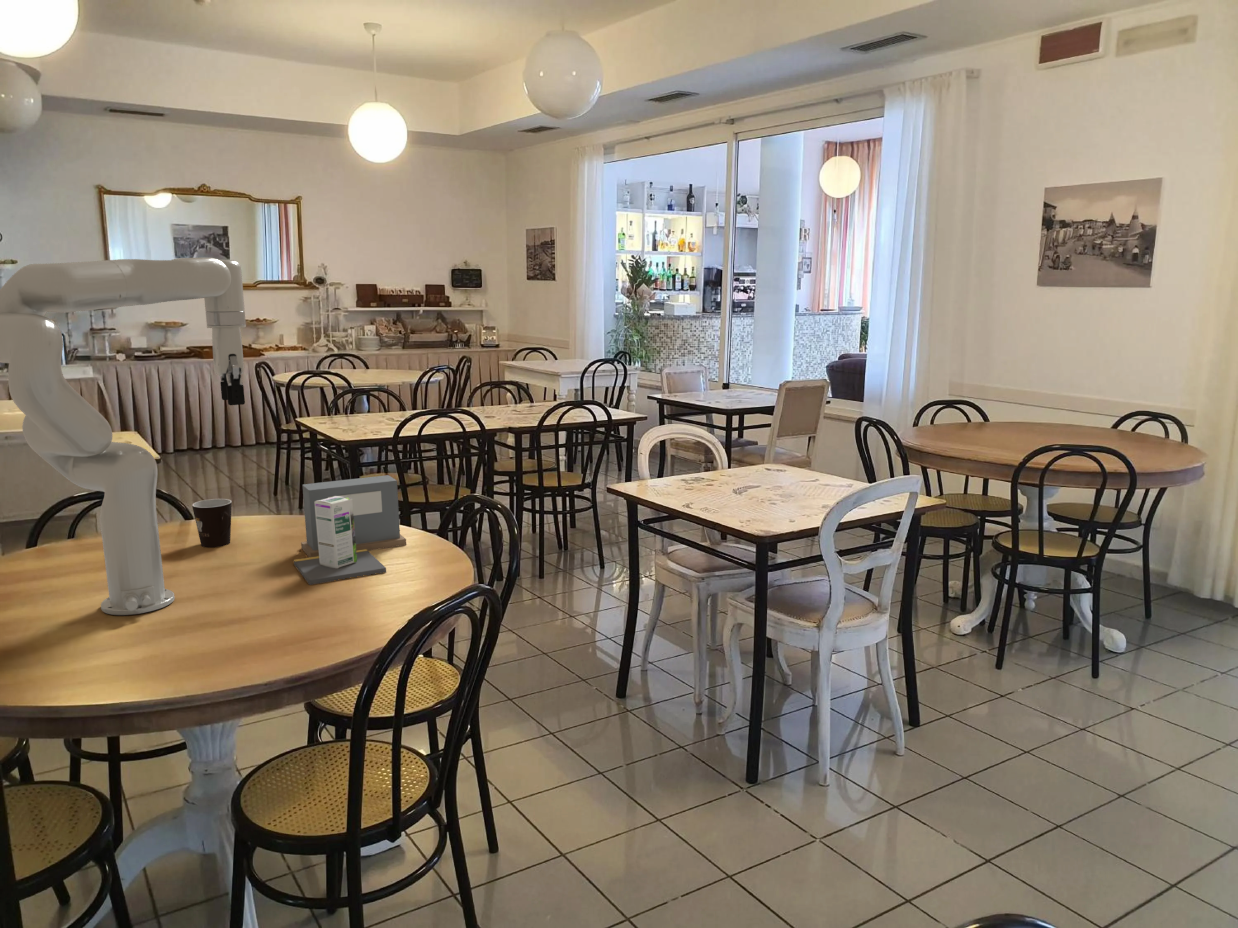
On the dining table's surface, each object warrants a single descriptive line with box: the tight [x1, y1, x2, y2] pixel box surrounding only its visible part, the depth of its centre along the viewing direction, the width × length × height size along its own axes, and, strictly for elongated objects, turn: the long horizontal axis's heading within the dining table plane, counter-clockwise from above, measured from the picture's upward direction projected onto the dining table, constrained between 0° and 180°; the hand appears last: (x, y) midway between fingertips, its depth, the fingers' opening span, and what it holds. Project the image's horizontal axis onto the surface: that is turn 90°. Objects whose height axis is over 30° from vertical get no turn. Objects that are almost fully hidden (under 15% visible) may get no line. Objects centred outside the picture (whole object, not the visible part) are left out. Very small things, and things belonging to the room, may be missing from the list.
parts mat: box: [293, 549, 387, 586], centre depth 196 cm, size 16×16×1 cm
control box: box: [300, 474, 407, 558], centre depth 211 cm, size 10×22×16 cm, turn 120°
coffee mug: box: [192, 498, 233, 549], centre depth 213 cm, size 12×9×10 cm
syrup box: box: [314, 496, 357, 569], centre depth 195 cm, size 6×6×14 cm
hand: (233, 402), depth 191 cm, fingers open, 9 cm apart
